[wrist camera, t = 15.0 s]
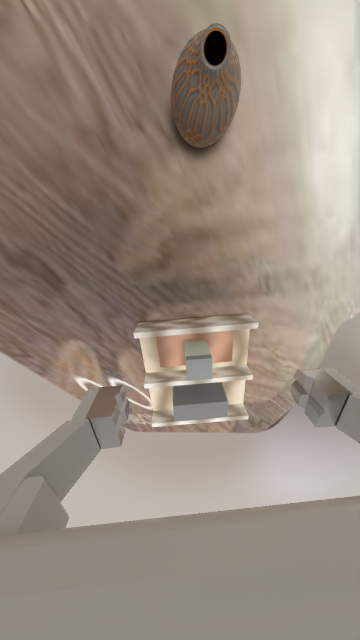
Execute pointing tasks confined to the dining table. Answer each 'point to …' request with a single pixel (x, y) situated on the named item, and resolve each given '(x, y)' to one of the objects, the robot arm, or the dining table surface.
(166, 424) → the rack
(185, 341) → the grey rectangular block
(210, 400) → the charcoal block
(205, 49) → the vase
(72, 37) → the dining table surface
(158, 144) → the dining table surface
